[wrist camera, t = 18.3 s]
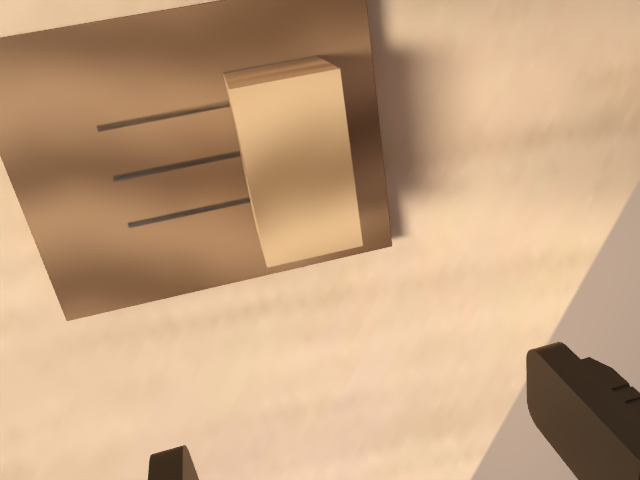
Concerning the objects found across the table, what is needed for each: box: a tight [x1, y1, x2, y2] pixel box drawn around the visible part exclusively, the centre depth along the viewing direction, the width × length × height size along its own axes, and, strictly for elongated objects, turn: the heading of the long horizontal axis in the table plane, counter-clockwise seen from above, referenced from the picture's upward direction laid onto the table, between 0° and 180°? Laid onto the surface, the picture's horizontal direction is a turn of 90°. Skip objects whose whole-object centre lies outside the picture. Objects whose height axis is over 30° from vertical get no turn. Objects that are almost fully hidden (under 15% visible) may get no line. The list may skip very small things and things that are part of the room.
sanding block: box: [223, 55, 363, 268], centre depth 27 cm, size 8×4×5 cm, turn 8°
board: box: [0, 0, 392, 321], centre depth 29 cm, size 14×18×1 cm
